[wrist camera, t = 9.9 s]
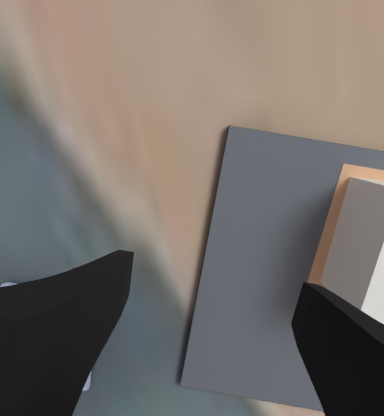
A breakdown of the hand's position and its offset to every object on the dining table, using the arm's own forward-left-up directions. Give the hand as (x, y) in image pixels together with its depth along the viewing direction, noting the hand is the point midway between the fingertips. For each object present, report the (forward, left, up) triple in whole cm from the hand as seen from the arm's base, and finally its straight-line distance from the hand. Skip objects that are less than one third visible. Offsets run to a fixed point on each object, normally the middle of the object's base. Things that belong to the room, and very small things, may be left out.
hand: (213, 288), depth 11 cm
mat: (-4, -8, -9) cm, 13 cm away
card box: (+1, -11, -9) cm, 14 cm away
